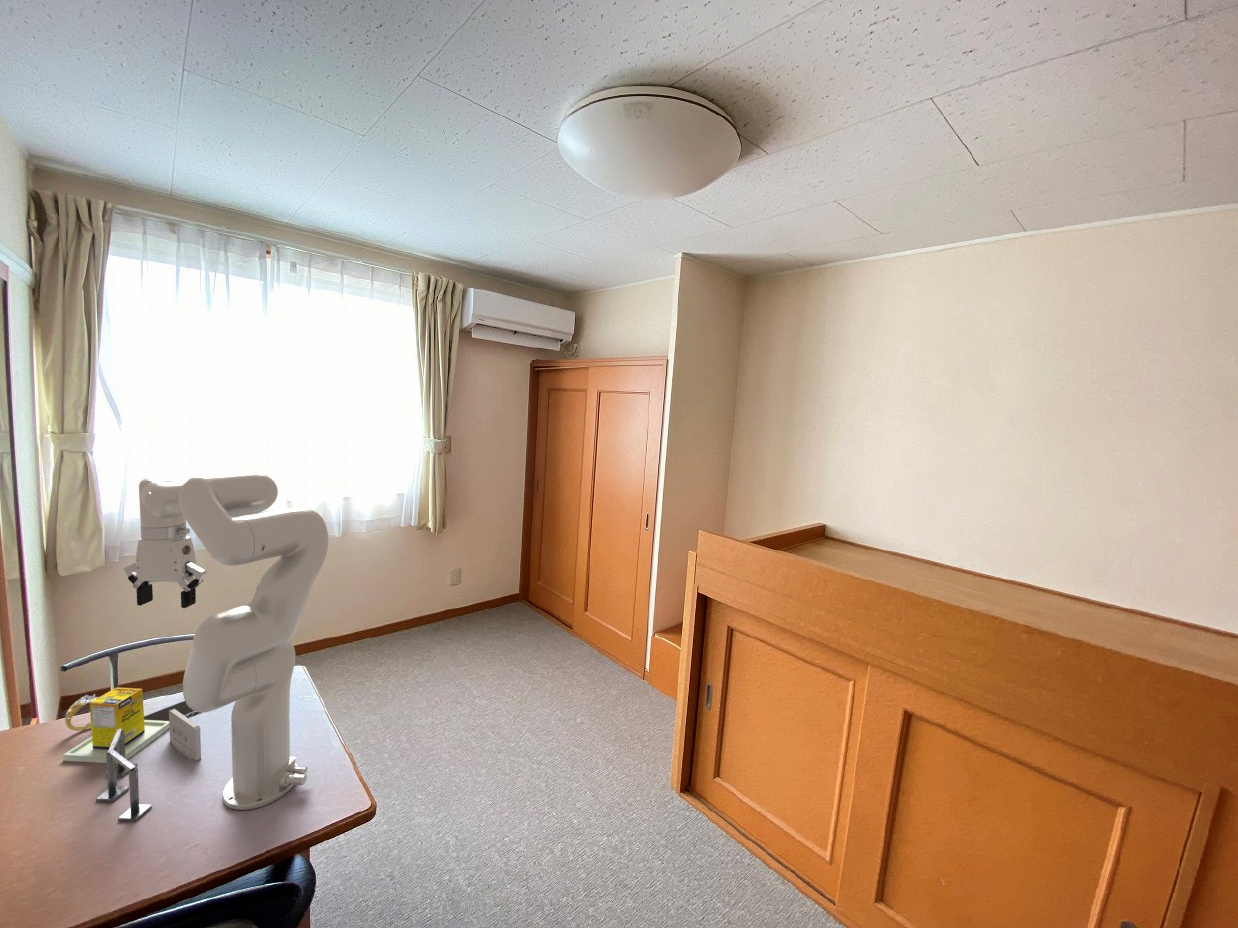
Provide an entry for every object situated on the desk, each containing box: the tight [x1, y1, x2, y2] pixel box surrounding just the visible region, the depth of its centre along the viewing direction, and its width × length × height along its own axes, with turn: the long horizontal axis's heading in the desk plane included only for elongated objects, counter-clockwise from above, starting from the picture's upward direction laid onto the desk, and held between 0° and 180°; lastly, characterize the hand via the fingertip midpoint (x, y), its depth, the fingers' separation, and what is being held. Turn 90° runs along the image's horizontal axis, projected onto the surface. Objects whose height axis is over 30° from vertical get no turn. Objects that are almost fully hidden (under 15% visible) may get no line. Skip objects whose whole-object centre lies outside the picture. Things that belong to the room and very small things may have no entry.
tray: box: [62, 720, 170, 765], centre depth 109 cm, size 12×12×1 cm
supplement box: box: [89, 687, 145, 750], centre depth 108 cm, size 6×6×11 cm
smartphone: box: [144, 700, 200, 721], centre depth 120 cm, size 7×1×16 cm
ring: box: [64, 693, 100, 731], centre depth 113 cm, size 7×3×8 cm, turn 148°
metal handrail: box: [95, 729, 153, 823], centre depth 96 cm, size 20×7×10 cm, turn 52°
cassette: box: [169, 709, 202, 762], centre depth 109 cm, size 12×2×8 cm, turn 63°
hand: (166, 604), depth 112 cm, fingers open, 9 cm apart
